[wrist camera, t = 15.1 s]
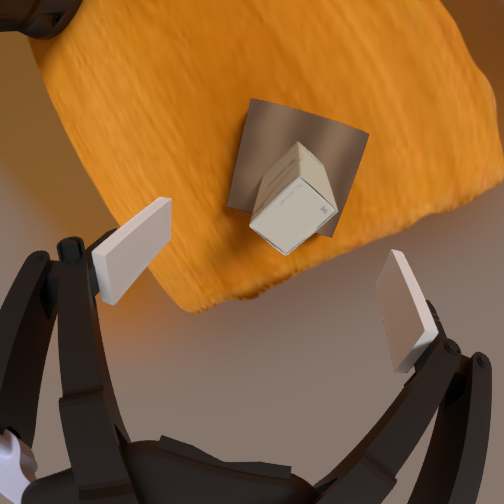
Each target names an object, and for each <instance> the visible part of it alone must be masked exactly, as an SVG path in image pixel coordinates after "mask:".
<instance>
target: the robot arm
mask: <svg viewBox="0 0 504 504" xmlns="http://www.w3.org/2000/svg"><path fill="white" fill-rule="evenodd" d="M81 1H82V0H0V32H9V31H18V32H20V33H22V34H24V35H27V36H29V37H31V38H33V39H37V40H46V39H50V38H52V37H54V36H56V35H57V34H58V33H60V32H61V31H62V30H63V29H64V28H65V27H66V25H67V24H68V23H69V22H70V20H71V19H72V18H73V16H74V14H75V13H76V11H77V9H78V7H79V5H80V3H81ZM171 203H172V199H170V198H165V197H159V198H158V199H156V200H155V201H154V202H152V203H151V204H150V205H148V206H147V207H146V208H144V209H143V210H142V211H141V212H139V213H138V214H137V215H135V216H134V217H133V218H132V219H130V220H129V221H128V222H127V223H125V224H124V225H123V226H122V227H120V228H119V229H116V228H115V229H113V230H110V231H108V232H106V233H105V234H104V235H103V236H101V238H99V239H98V240H97V241H96V242H94V243H93V244H92V245H90V246H89V247H88V248H87V249H86V250H85V247H84V242H83V240H82V239H81V238H80V237H68V238H65V239H63V240H61V241H60V242H59V243H58V244H57V251H58V255H59V260H60V261H53V260H50V256H49V254H48V252H46V251H36V252H33V253H32V254H31V255H29V256H28V258H27V259H26V260H25V262H24V264H23V266H22V268H21V269H20V271H19V273H18V275H17V277H16V279H15V281H14V282H13V284H12V286H11V288H10V290H9V292H8V294H7V296H6V298H5V301H4V303H3V305H2V307H1V309H0V493H2V494H3V495H4V496H5V497H6V498H8V499H9V500H10V501H12V502H13V503H15V504H381V503H382V501H383V500H384V499H385V498H386V496H387V495H388V494H389V493H390V491H391V490H392V489H393V487H394V486H395V484H396V482H397V479H396V478H395V476H396V474H397V473H398V471H399V470H400V468H401V467H402V466H403V464H404V463H405V461H406V460H407V458H408V457H409V455H410V454H411V452H412V451H413V449H414V448H415V446H416V445H417V443H418V442H419V440H420V438H421V436H422V435H423V433H424V431H425V430H426V428H427V426H428V425H429V423H430V421H431V419H432V418H433V415H434V414H435V412H436V410H437V408H438V406H439V409H438V413H437V418H436V421H435V426H434V430H433V433H432V437H431V440H430V444H429V447H428V450H427V454H426V456H425V459H424V462H423V466H422V468H421V471H420V474H419V476H418V479H417V482H416V484H415V487H414V489H413V491H412V494H411V496H410V498H409V501H408V503H407V504H475V503H476V500H477V496H478V492H479V488H480V484H481V480H482V475H483V470H484V465H485V460H486V453H487V447H488V439H489V430H490V419H491V402H492V367H491V363H490V361H489V358H488V357H487V356H486V355H484V354H483V353H481V352H476V353H474V354H473V356H472V357H471V358H469V357H466V356H464V355H462V354H461V350H460V348H459V346H458V344H456V343H455V342H454V341H453V340H451V339H449V338H447V337H446V334H445V332H444V329H443V327H442V324H441V322H440V321H439V318H438V316H437V313H436V310H435V308H434V307H433V305H432V304H431V303H430V302H429V300H425V299H424V296H423V294H422V292H421V290H420V288H419V285H418V283H417V281H416V279H415V277H414V275H413V273H412V271H411V268H410V266H409V264H408V262H407V260H406V259H405V256H404V255H403V253H402V252H400V251H396V250H393V249H391V251H390V253H389V256H388V258H387V260H386V263H385V265H384V267H383V269H382V271H381V274H380V276H379V278H378V280H377V283H376V284H375V290H376V293H377V298H378V301H379V305H380V309H381V313H382V317H383V322H384V326H385V330H386V334H387V339H388V344H389V349H390V354H391V359H392V364H393V370H394V372H399V373H408V371H409V370H410V369H411V368H412V367H413V366H414V367H415V373H414V374H413V375H412V376H411V378H410V379H409V380H408V381H407V382H406V383H405V384H404V388H403V389H402V391H401V392H400V393H399V395H398V396H397V398H396V399H395V400H394V402H393V403H392V404H391V406H390V407H389V408H388V409H387V411H386V412H385V413H384V415H383V416H382V417H381V418H380V420H379V421H378V422H377V423H376V424H375V426H374V427H373V428H372V429H371V430H370V431H369V433H368V434H367V435H366V436H365V437H364V438H363V440H361V442H360V443H359V444H358V445H357V446H356V447H355V448H354V449H353V450H352V451H351V452H350V453H349V454H348V455H347V456H346V458H344V459H343V460H342V462H340V463H339V464H338V465H337V467H336V468H334V469H333V470H332V471H331V472H330V473H329V474H328V475H327V476H326V477H324V478H323V479H321V480H320V481H319V482H317V483H316V484H315V485H314V486H312V485H310V484H309V483H308V482H307V481H305V480H304V479H302V478H300V477H299V476H296V475H295V474H292V473H291V466H284V465H277V464H271V463H264V462H223V461H221V460H218V459H217V458H215V457H213V456H211V455H209V454H207V453H205V452H203V451H202V450H200V449H198V448H196V447H194V446H193V445H190V444H186V443H183V442H180V441H177V440H174V439H172V438H169V437H166V436H163V435H162V436H161V438H160V440H159V441H154V440H145V441H137V442H132V443H131V441H130V438H129V436H128V433H127V431H126V429H125V426H124V424H123V421H122V418H121V415H120V412H119V408H118V405H117V401H116V398H115V395H114V391H113V387H112V383H111V379H110V375H109V370H108V366H107V361H106V358H105V352H104V347H103V342H102V336H101V331H100V325H99V318H98V312H97V304H96V299H95V296H96V294H98V292H100V296H101V300H102V301H103V302H106V303H108V304H111V305H113V306H115V304H116V303H117V302H118V301H119V299H120V298H121V297H122V296H123V294H124V293H125V292H126V291H127V289H128V288H129V287H130V286H131V284H132V283H133V282H134V281H135V280H136V279H137V277H138V276H139V275H140V274H141V273H142V272H143V270H144V269H145V268H146V267H147V266H148V265H149V263H150V262H151V261H152V260H153V259H154V258H155V256H156V255H157V254H158V253H159V252H160V251H161V250H162V248H163V247H164V246H165V245H166V244H167V243H168V242H169V241H170V239H171ZM57 313H58V347H59V361H60V373H61V382H62V391H63V397H62V398H59V411H60V417H61V423H62V428H63V433H64V437H65V443H66V447H67V451H68V455H69V459H70V463H71V468H69V469H66V470H64V471H61V472H58V473H55V474H52V475H49V476H46V477H43V478H40V479H36V476H35V472H36V471H37V468H38V466H37V463H36V461H35V458H34V455H33V452H32V450H31V448H32V444H33V440H34V434H35V427H36V417H37V407H38V400H39V393H40V387H41V381H42V375H43V370H44V365H45V360H46V355H47V351H48V346H49V342H50V339H51V335H52V331H53V327H54V323H55V320H56V316H57Z"/></svg>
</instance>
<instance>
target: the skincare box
mask: <svg viewBox="0 0 504 504" xmlns="http://www.w3.org/2000/svg"><path fill="white" fill-rule="evenodd" d="M337 212H338V209H337V206H336V202H335V199H334V196H333V193H332V189H331V186H330V183H329V180H328V177H327V174H326V171H325V168H324V165H323V164H322V163H321V162H320V161H319V160H318V159H317V158H316V157H315V156H314V155H313V154H312V153H311V152H310V151H309V150H308V149H306V148H305V147H304V146H303V145H302V144H301V143H300V142H296V143H295V144H294V145H293V146H292V147H291V148H290V149H289V150H288V151H287V152H286V153H285V154H284V155H283V156H282V157H281V158H280V159H279V160H278V161H277V162H276V163H275V164H274V165H273V166H272V167H271V168H270V169H269V170H268V171H267V172H266V173H265V174H264V175H263V178H262V181H261V184H260V188H259V191H258V195H257V199H256V202H255V206H254V210H253V213H252V217H251V221H250V224H249V226H250V227H251V228H252V229H253V230H254V231H255V232H257V233H258V234H259V235H260V236H261V237H263V238H264V239H265V240H266V241H267V242H269V243H270V244H271V245H272V246H273V247H275V248H276V249H277V250H278V251H279V252H281V253H282V254H283V255H288V254H289V253H290V252H291V251H293V250H294V249H295V248H296V247H298V246H299V245H300V244H301V243H303V242H304V241H305V240H306V239H307V238H309V237H310V236H311V235H312V234H313V233H315V232H316V231H317V230H318V229H319V228H320V227H321V226H323V225H324V224H325V223H326V222H327V221H328V220H329V219H330V218H332V217H333V216H334V215H335V214H336V213H337Z"/></svg>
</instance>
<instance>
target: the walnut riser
mask: <svg viewBox="0 0 504 504" xmlns="http://www.w3.org/2000/svg"><path fill="white" fill-rule="evenodd" d="M368 137H369V134H368V133H366V132H364V131H362V130H359V129H356V128H354V127H351V126H348V125H345V124H343V123H340V122H337V121H334V120H331V119H328V118H325V117H322V116H318V115H315V114H312V113H308V112H305V111H302V110H298V109H295V108H291V107H287V106H283V105H279V104H275V103H271V102H267V101H263V100H258V99H251V100H250V104H249V109H248V113H247V117H246V121H245V125H244V130H243V134H242V138H241V143H240V147H239V151H238V156H237V160H236V165H235V170H234V174H233V179H232V183H231V188H230V193H229V198H228V202H227V207H231V208H234V209H238V210H241V211H245V212H248V213H253V210H254V206H255V202H256V199H257V195H258V191H259V188H260V184H261V181H262V178H263V175H264V174H265V173H266V172H267V171H268V170H269V169H270V168H271V167H272V166H273V165H274V164H275V163H276V162H277V161H278V160H279V159H280V158H281V157H282V156H283V155H284V154H285V153H286V152H287V151H288V150H289V149H290V148H291V147H292V146H293V145H294V144H295V143H296V142H300V143H301V144H302V145H303V146H304V147H305V148H306V149H308V150H309V151H310V152H311V153H312V154H313V155H314V156H315V157H316V158H317V159H318V160H319V161H320V162H321V163H322V164H323V165H324V168H325V171H326V174H327V177H328V180H329V183H330V186H331V189H332V193H333V196H334V199H335V202H336V206H337V209H338V212H337V213H336V214H335V215H334V216H333V217H332V218H330V219H329V220H328V221H327V222H326V223H325V224H324V225H323V226H321V227H320V228H319V229H318V230H317V231H316V232H315V233H318V234H321V235H324V236H327V237H331V238H332V236H333V233H334V231H335V228H336V226H337V223H338V221H339V218H340V216H341V213H342V210H343V208H344V205H345V202H346V200H347V197H348V194H349V192H350V189H351V186H352V184H353V181H354V178H355V175H356V172H357V169H358V167H359V164H360V161H361V158H362V155H363V152H364V149H365V146H366V143H367V140H368Z"/></svg>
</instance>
